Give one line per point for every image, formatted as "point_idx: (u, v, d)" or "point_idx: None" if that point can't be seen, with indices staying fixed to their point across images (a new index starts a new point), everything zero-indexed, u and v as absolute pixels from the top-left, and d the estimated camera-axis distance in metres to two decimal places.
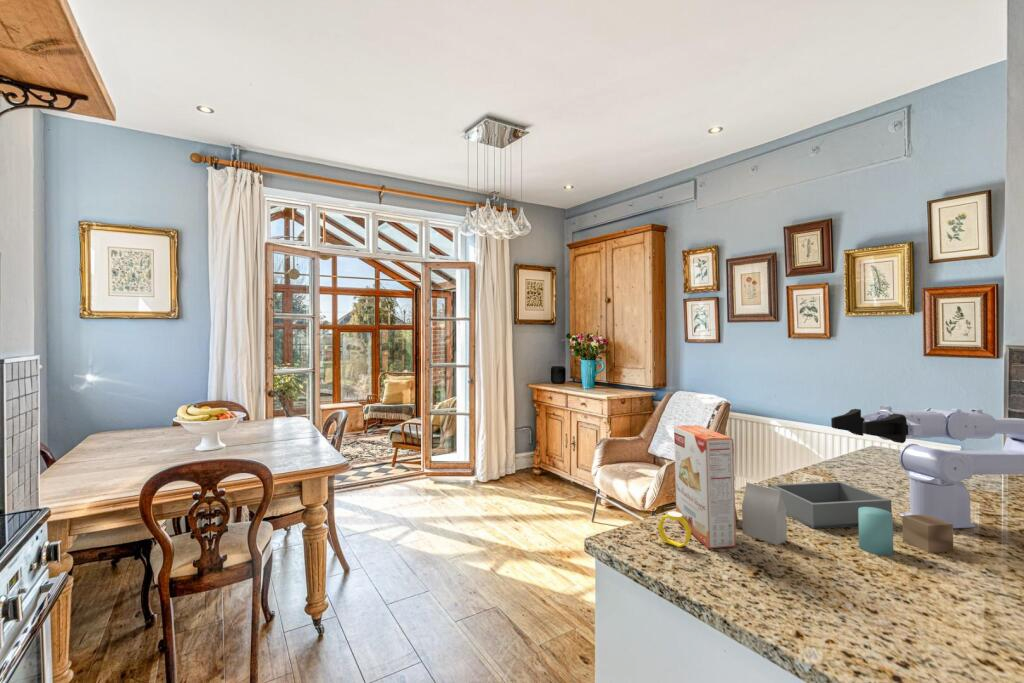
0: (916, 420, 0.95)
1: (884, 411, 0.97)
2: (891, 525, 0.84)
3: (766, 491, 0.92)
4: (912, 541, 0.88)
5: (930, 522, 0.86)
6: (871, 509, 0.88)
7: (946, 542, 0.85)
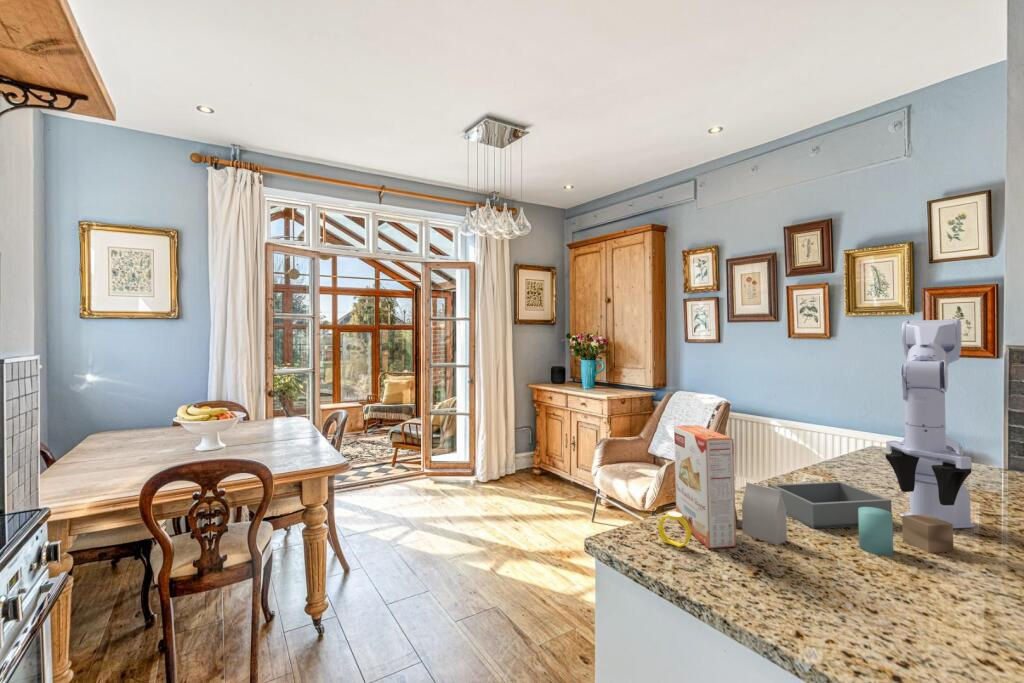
0: (932, 429, 0.85)
1: None
2: (891, 525, 0.84)
3: (766, 491, 0.92)
4: (912, 541, 0.88)
5: (930, 522, 0.86)
6: (871, 509, 0.88)
7: (946, 542, 0.85)
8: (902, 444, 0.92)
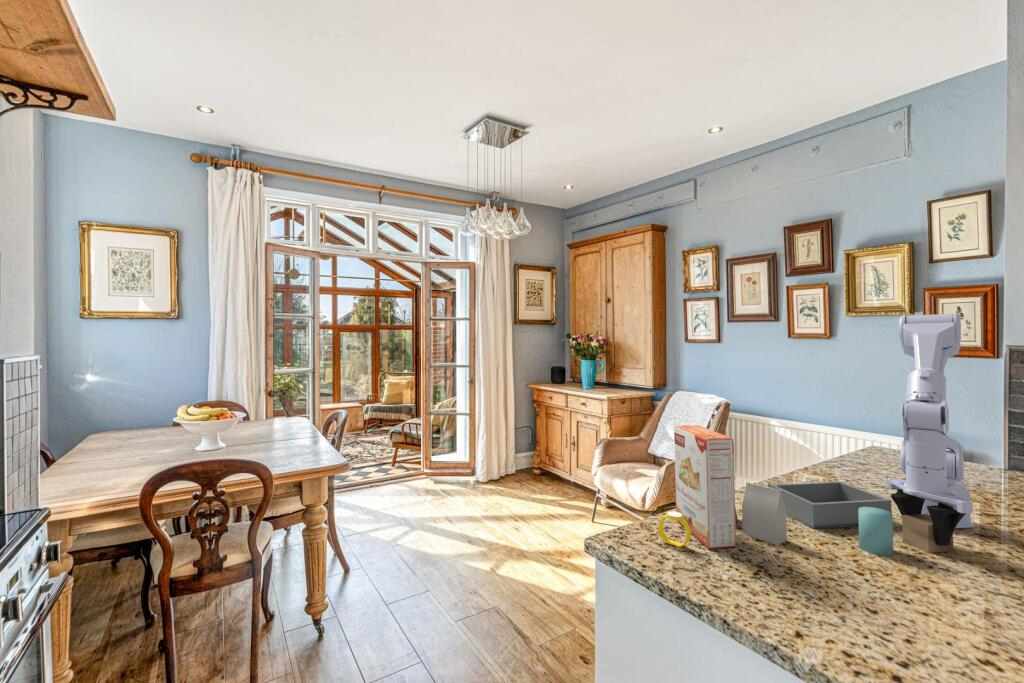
0: (933, 471, 0.85)
1: None
2: (891, 525, 0.84)
3: (766, 491, 0.92)
4: (912, 540, 0.88)
5: (930, 521, 0.86)
6: (871, 509, 0.88)
7: None
8: (903, 483, 0.92)
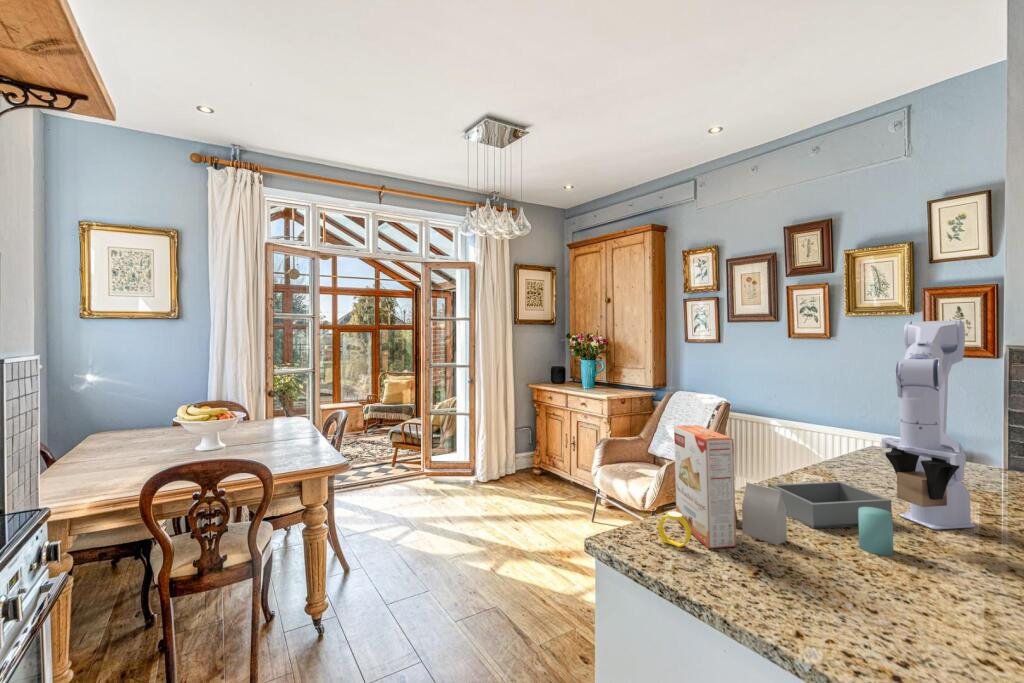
0: (927, 427, 0.86)
1: None
2: (891, 525, 0.84)
3: (766, 491, 0.92)
4: (907, 496, 0.89)
5: (924, 477, 0.87)
6: (871, 509, 0.88)
7: None
8: (897, 441, 0.93)
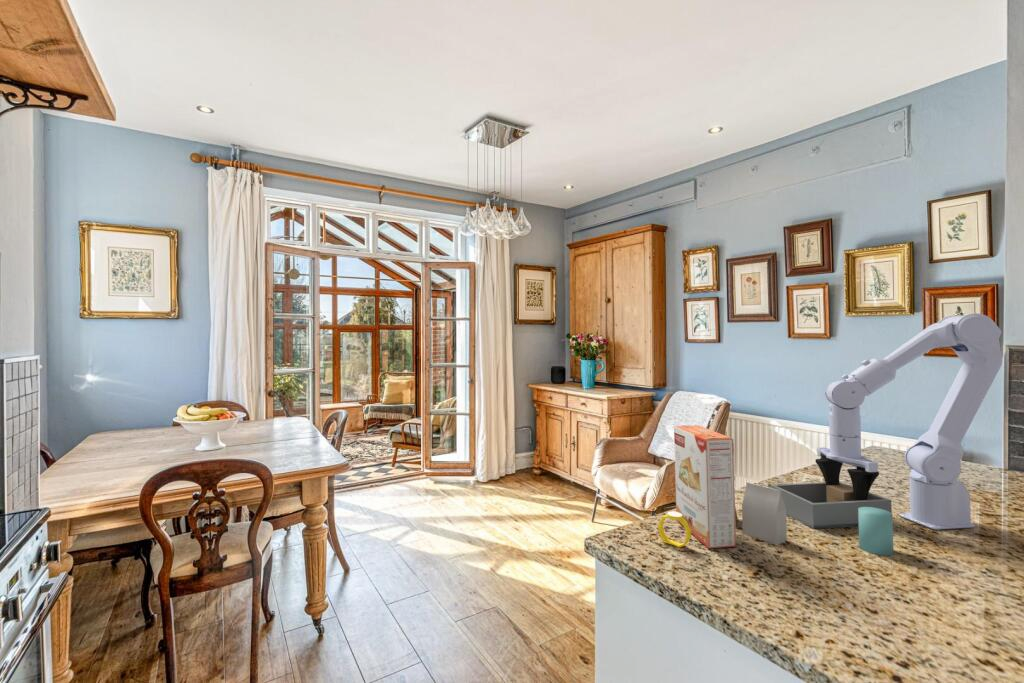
0: (849, 439, 1.02)
1: (834, 458, 1.04)
2: (891, 525, 0.84)
3: (766, 491, 0.92)
4: None
5: (847, 489, 1.03)
6: (871, 509, 0.88)
7: None
8: (829, 451, 1.09)
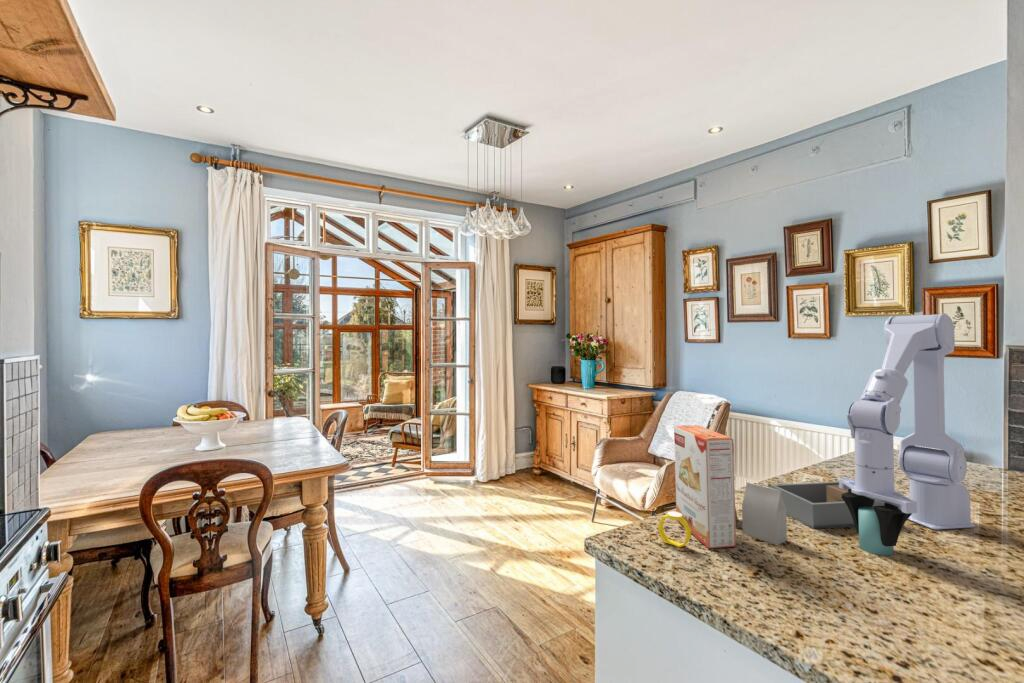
0: (880, 471, 0.84)
1: None
2: None
3: (766, 491, 0.92)
4: None
5: None
6: (871, 509, 0.88)
7: None
8: (853, 483, 0.91)
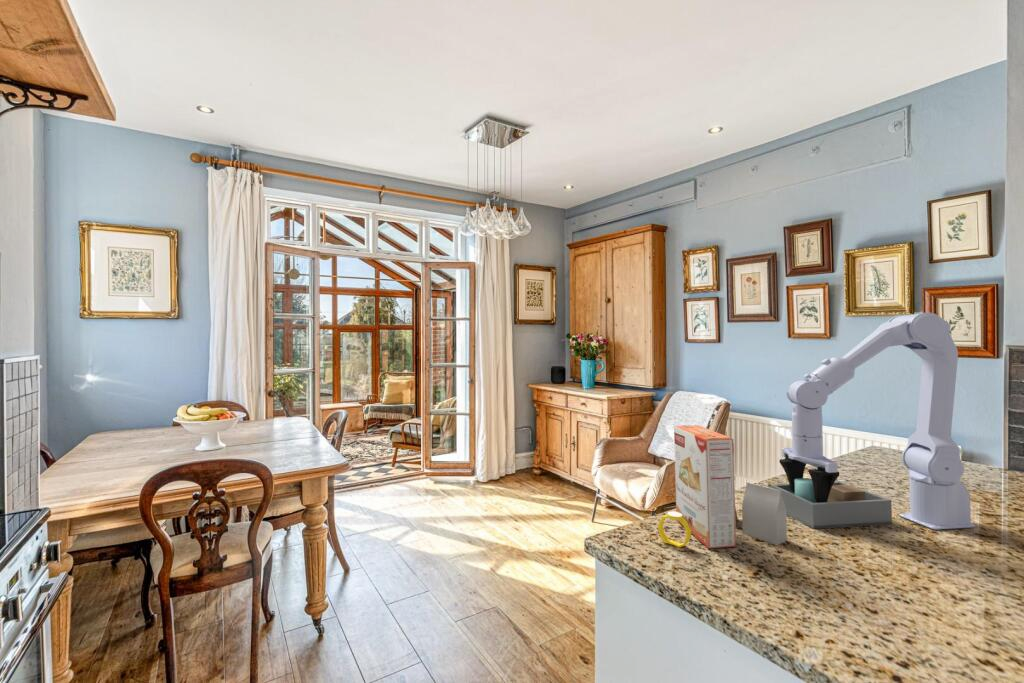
0: (810, 439, 1.01)
1: None
2: None
3: (766, 491, 0.92)
4: None
5: (847, 489, 1.03)
6: (805, 479, 1.05)
7: None
8: (792, 451, 1.08)
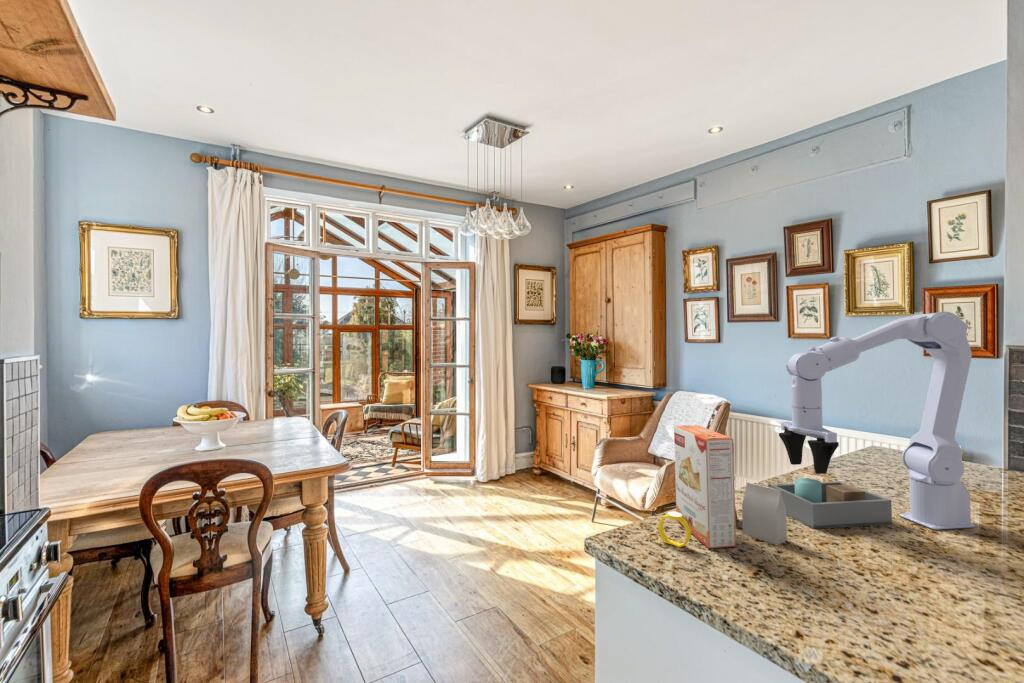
0: (810, 410, 1.01)
1: (795, 430, 1.03)
2: (820, 492, 1.01)
3: (766, 491, 0.92)
4: None
5: (847, 489, 1.03)
6: (805, 479, 1.05)
7: None
8: (792, 424, 1.08)
